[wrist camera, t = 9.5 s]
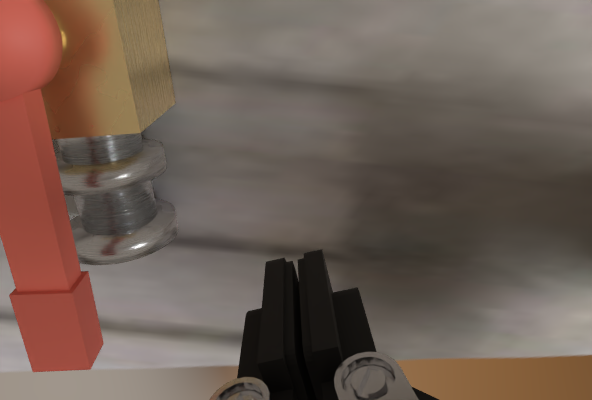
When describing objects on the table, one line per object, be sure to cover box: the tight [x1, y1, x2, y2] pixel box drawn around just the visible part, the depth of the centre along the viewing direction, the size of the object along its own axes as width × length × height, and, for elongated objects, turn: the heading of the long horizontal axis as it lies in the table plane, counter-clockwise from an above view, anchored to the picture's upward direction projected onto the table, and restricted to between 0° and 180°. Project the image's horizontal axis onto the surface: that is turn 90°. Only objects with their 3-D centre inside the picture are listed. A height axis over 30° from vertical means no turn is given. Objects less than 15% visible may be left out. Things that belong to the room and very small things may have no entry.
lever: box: [0, 0, 103, 372], centre depth 15 cm, size 16×4×2 cm, turn 179°
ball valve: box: [41, 0, 179, 265], centre depth 18 cm, size 7×22×9 cm, turn 3°
